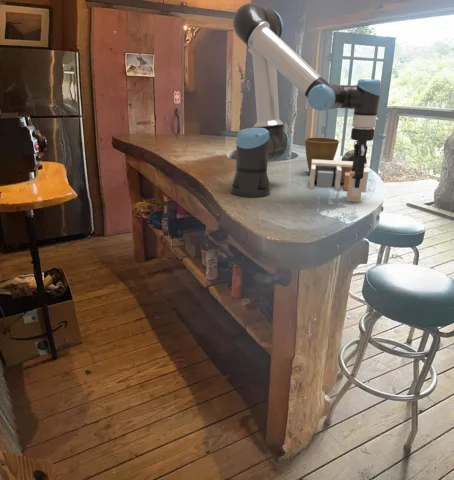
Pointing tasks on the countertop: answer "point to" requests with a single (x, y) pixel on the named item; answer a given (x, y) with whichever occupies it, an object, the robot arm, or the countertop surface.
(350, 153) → the alarm clock
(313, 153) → the plant pot
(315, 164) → the shelf lanes
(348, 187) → the corded block
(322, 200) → the countertop surface
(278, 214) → the countertop surface
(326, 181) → the slate block
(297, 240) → the countertop surface
